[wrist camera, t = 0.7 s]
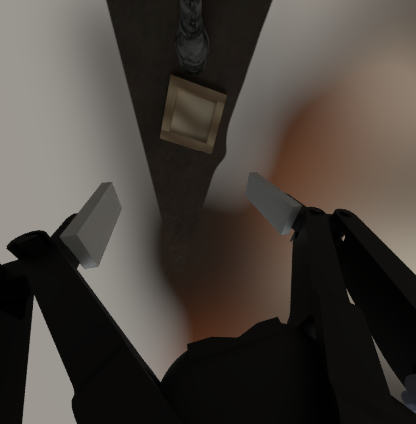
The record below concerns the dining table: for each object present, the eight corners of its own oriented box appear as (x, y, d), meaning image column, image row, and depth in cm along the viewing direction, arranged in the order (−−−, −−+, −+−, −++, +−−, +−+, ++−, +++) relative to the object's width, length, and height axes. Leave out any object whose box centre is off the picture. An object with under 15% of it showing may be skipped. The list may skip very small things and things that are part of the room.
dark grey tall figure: (177, 75, 29) (164, 14, 18) (177, 36, 27) (163, -58, 16) (207, 78, 29) (213, 21, 18) (208, 41, 28) (217, -49, 16)
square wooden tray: (172, 80, 29) (170, 74, 27) (225, 99, 31) (226, 95, 29) (161, 139, 32) (159, 137, 30) (210, 153, 33) (211, 153, 32)
